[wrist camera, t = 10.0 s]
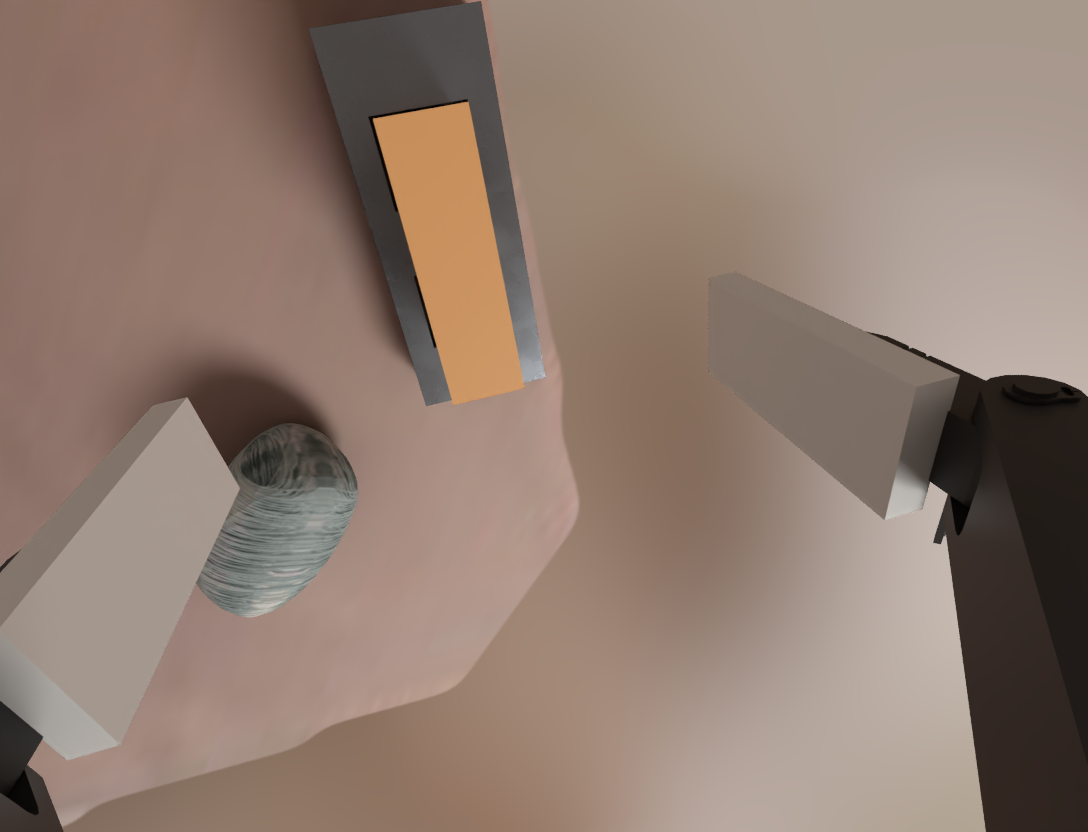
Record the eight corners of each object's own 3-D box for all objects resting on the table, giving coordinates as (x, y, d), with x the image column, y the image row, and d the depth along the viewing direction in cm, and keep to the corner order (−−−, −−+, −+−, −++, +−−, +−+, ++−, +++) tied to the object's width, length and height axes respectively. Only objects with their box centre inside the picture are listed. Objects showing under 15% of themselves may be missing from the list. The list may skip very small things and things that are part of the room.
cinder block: (425, 380, 38) (426, 406, 34) (321, 39, 27) (308, 28, 24) (533, 354, 38) (545, 377, 35) (472, 15, 28) (480, 1, 25)
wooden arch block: (441, 322, 35) (453, 405, 25) (387, 119, 29) (372, 118, 19) (492, 311, 36) (524, 387, 25) (449, 108, 30) (468, 101, 19)
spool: (232, 389, 32) (254, 540, 27) (371, 413, 39) (407, 535, 34) (153, 505, 38) (160, 645, 33) (286, 507, 45) (307, 621, 40)
